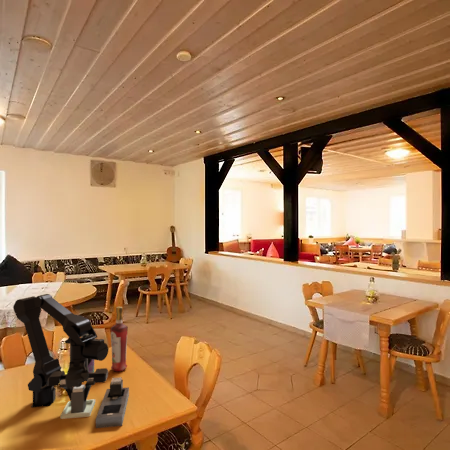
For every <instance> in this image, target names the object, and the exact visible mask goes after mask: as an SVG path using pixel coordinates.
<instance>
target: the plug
mask: <svg viewBox="0 0 450 450" xmlns="http://www.w3.org/2000/svg"><path fill="white" fill-rule="evenodd" d="M84 396H85V384H82V385H81V386H80V387H73V391H72V393H71V413H82V412H84V410H85V408H86V402H85V401H84Z"/></svg>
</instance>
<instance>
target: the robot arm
mask: <svg viewBox="0 0 450 450" xmlns="http://www.w3.org/2000/svg"><path fill="white" fill-rule="evenodd" d="M12 306H13V307H12V308H13V312H14V314H15V316H16V318H17V319H18V320H19V321H20V322H22V324H23V325H24V328H25V331H26V335H27V337H28V342H29V345H30V349H31V352H32V355H33V358H34V365H33V366H34V367H33V370H32V374H33V378H32V379H31V380H30V381H29V382H28V383H27V389H28V390H29V391H31V392H32V405H31V406H30V408H43V407H51V405H52V404H54V402H55V400H56V396H57V395H56V393H57V392H56V389H57V388H56V387H57V386H58V385H59V384H60V385H59V388H63V389H64V390H65V391H66V394H67V396H68V398H69V401H71V393H72V391H73V388H74V387H80V386H81V385H83V383H85V384H84V385H85V396H84V401H85V402H86V400H88V395H89V393H90V390H91V387H92V386H94V385H95V384H100V383H105V382H106V381H108V380H107V379H108V377H109V369H108V368H107V367H105V368H104V367H103V368H96V369H95V370H94V372H91V373H89V371H88V359H93V360H94V361H100V362H102V361H104V360H105V359H106V358H107V356H108V355H109V354H108V353H109V346H108V344H107V343H106V342H105V339H103V338H100V339H99V338H98V335H97V333H96V331H95V329H94V327H93V326H92V324H91V321H90V319H88V318H86V317H85V316H82V315H78V314H76V313H73V312H71V311H70V310H69V309H68V308H67V307H65V306H63V305H62V303H60V302H58V301H57V300H56V299H55V298H53V296H52V295H51V294H50V293H45V294H39V295H37V296H28V297H23V298H20V299H17V300H15V302H14V304H13V305H12ZM42 310H43V311H44V312H45V313H47V314H48V315H49V316H50V317H51V318H53V319H54V320H55V321H57V322H58V323H59V324H60V325H62V330H63V331H62V332H64V333H65V335H67V336H68V338H67V339H66V340H65V341H64V343H65V344H68V345H69V363H68V364H69V365H68V369H67V373H66V372H65V370H61V369H62V366H61V365H60V360H59V358H58V357H56V358H54V357H53V356H51V353H50V350H49V347H48V344H47V340H46V337H45V334H44V331H43V327H42V323H41V320H40V316H41V314H42ZM87 334H89V335H87ZM84 335H87V336H85V337H83V338H81V337H82V336H84Z"/></svg>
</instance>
